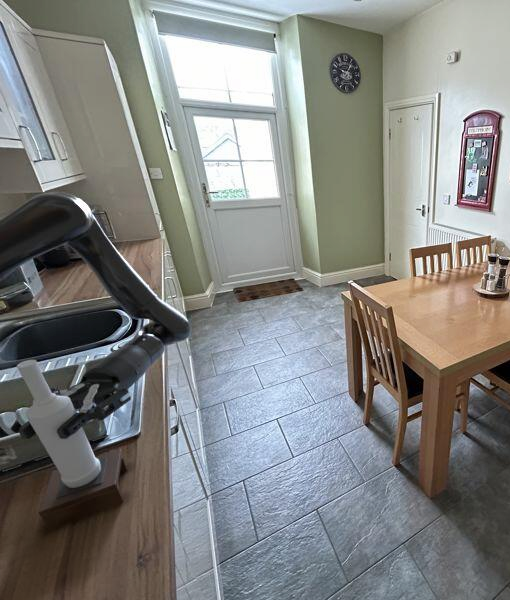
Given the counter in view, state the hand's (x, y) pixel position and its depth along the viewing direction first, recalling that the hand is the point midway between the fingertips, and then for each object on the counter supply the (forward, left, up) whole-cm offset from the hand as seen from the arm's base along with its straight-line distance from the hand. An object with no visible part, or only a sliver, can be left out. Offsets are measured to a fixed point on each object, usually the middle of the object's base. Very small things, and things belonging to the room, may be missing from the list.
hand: (42, 434), depth 52 cm
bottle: (0, +3, -13) cm, 13 cm away
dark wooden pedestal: (0, +2, -18) cm, 18 cm away
